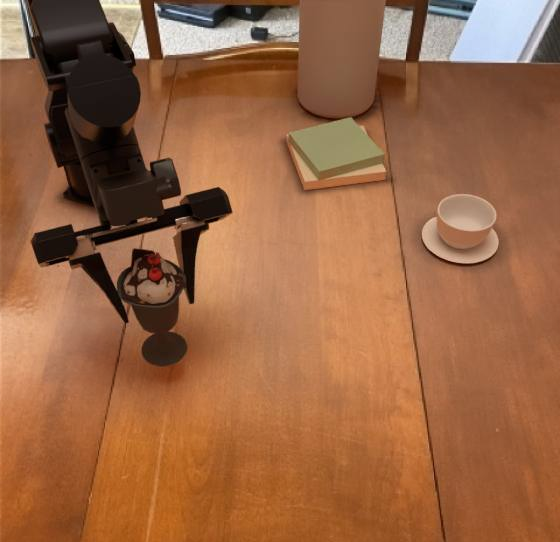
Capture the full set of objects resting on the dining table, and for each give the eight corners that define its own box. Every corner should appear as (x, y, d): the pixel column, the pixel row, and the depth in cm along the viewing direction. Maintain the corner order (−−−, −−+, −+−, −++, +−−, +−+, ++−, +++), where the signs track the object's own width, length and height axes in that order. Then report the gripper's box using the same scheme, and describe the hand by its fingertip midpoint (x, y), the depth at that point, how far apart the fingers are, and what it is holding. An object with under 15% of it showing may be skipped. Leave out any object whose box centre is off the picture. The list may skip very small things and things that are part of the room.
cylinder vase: (365, 126, 106) (384, -51, 87) (288, 113, 108) (290, -62, 89) (380, 86, 114) (401, -86, 94) (308, 75, 116) (314, -95, 96)
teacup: (490, 273, 86) (500, 245, 82) (413, 255, 88) (419, 226, 84) (503, 225, 92) (512, 197, 88) (430, 209, 94) (436, 180, 90)
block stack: (303, 191, 96) (304, 173, 94) (285, 142, 104) (285, 124, 101) (386, 180, 98) (389, 162, 95) (362, 133, 105) (364, 115, 103)
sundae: (186, 378, 71) (169, 274, 59) (125, 367, 72) (96, 262, 60) (203, 331, 75) (190, 225, 63) (145, 322, 76) (121, 215, 64)
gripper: (0, 159, 54) (62, 345, 57) (219, 110, 59) (268, 284, 61) (13, 184, 65) (65, 339, 68) (198, 140, 70) (241, 288, 72)
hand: (159, 313), depth 67 cm, fingers closed on sundae, 6 cm apart
